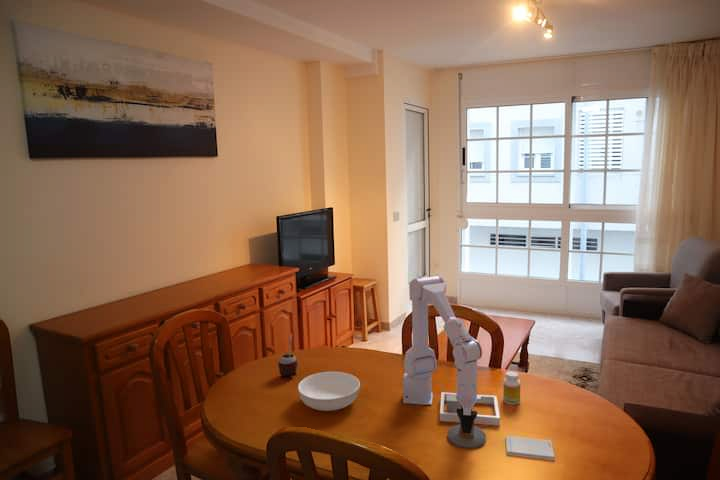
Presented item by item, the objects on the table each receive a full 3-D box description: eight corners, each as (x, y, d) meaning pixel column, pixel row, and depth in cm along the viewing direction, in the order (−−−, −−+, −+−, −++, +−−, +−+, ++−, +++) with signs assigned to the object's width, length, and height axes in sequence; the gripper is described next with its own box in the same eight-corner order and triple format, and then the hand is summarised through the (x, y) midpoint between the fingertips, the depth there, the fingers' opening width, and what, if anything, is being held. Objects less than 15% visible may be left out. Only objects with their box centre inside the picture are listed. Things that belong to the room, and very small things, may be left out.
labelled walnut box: (459, 437, 142) (459, 419, 141) (459, 430, 145) (459, 412, 144) (473, 438, 141) (473, 420, 140) (473, 431, 145) (473, 413, 144)
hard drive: (551, 439, 139) (505, 434, 142) (554, 457, 131) (506, 450, 134) (551, 445, 139) (505, 439, 142) (554, 462, 132) (506, 456, 135)
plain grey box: (446, 416, 155) (446, 400, 154) (446, 410, 159) (446, 394, 158) (459, 417, 154) (459, 401, 153) (459, 411, 158) (459, 395, 157)
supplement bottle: (520, 405, 160) (521, 377, 159) (503, 404, 161) (504, 376, 160) (519, 397, 165) (519, 370, 164) (502, 396, 167) (503, 369, 165)
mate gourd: (283, 382, 182) (281, 343, 179) (275, 374, 189) (273, 337, 186) (301, 377, 186) (299, 339, 183) (293, 369, 192) (291, 333, 190)
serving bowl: (373, 401, 166) (372, 382, 165) (328, 426, 151) (327, 406, 150) (330, 383, 180) (330, 365, 179) (286, 405, 165) (284, 386, 164)
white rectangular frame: (439, 420, 153) (439, 413, 152) (441, 399, 166) (441, 392, 166) (499, 425, 149) (499, 417, 149) (496, 402, 162) (496, 395, 162)
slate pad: (446, 446, 139) (446, 443, 139) (447, 425, 150) (447, 422, 149) (486, 450, 137) (486, 446, 137) (484, 428, 147) (484, 425, 147)
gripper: (482, 394, 132) (481, 440, 135) (480, 371, 146) (479, 413, 149) (455, 393, 134) (455, 438, 136) (456, 370, 148) (456, 411, 150)
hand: (466, 425), depth 143 cm, fingers open, 7 cm apart
